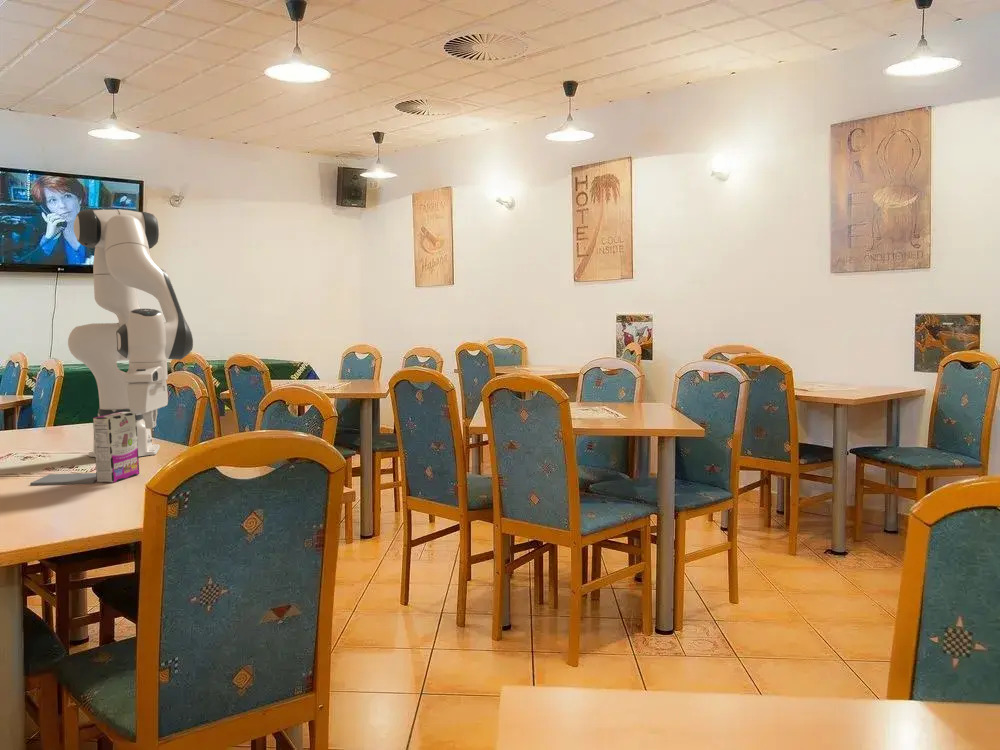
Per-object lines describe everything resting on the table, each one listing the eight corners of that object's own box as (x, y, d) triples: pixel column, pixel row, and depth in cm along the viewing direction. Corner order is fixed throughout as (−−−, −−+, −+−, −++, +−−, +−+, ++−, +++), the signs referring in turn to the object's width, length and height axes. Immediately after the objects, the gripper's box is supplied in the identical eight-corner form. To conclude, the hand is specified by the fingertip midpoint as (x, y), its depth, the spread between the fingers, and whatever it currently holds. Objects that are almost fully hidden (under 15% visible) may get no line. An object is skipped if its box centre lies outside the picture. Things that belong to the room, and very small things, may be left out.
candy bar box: (122, 474, 214) (119, 411, 213) (140, 474, 213) (137, 411, 212) (94, 482, 203) (91, 416, 202) (113, 483, 202) (110, 417, 201)
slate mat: (49, 476, 211) (49, 474, 211) (108, 474, 213) (108, 472, 213) (30, 485, 200) (30, 482, 200) (92, 483, 202) (92, 481, 202)
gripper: (148, 371, 217) (150, 423, 218) (121, 376, 197) (124, 433, 197) (173, 370, 218) (175, 422, 218) (149, 375, 197) (151, 432, 198)
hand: (150, 427), depth 208 cm, fingers closed
